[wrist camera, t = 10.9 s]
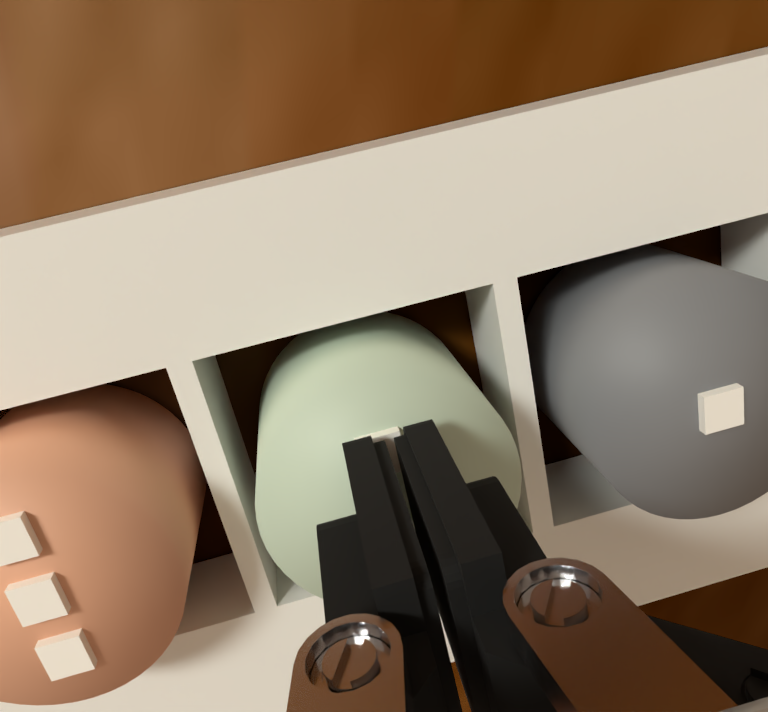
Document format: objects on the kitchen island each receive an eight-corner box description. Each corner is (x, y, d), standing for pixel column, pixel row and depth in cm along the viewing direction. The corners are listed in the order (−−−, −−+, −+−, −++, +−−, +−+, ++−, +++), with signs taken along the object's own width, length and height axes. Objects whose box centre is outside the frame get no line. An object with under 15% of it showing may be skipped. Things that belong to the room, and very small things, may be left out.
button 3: (166, 358, 15) (128, 442, 11) (232, 539, 17) (219, 668, 13) (-60, 416, 14) (-184, 525, 11) (32, 595, 16) (-45, 746, 12)
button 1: (705, 220, 16) (849, 251, 12) (713, 405, 18) (840, 487, 14) (506, 271, 15) (586, 321, 11) (534, 455, 17) (612, 553, 13)
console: (776, 44, 15) (870, 29, 13) (777, 492, 19) (847, 543, 17) (-236, 285, 13) (-345, 318, 11) (11, 715, 17) (-29, 806, 15)
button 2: (445, 287, 15) (504, 343, 11) (479, 471, 17) (541, 574, 13) (232, 341, 15) (217, 419, 11) (290, 523, 17) (295, 646, 13)
